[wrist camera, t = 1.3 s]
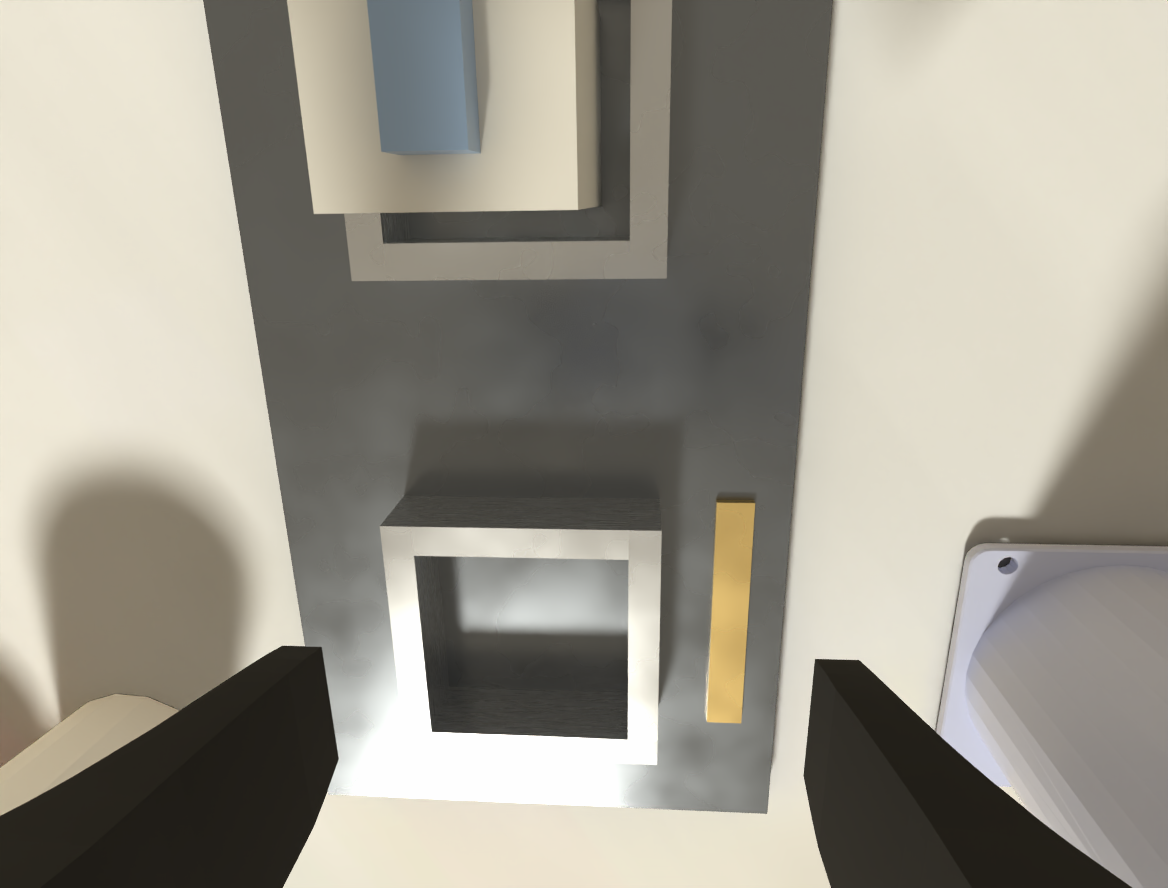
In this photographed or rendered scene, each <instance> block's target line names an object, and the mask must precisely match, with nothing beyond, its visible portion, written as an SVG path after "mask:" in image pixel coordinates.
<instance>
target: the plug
mask: <svg viewBox="0 0 1168 888" xmlns="http://www.w3.org/2000/svg"><path fill="white" fill-rule="evenodd" d="M287 5H288V13H289V20H290V28H291V36H292V44H293V52H294V60H295V68H296V76H297V84H298V92H299V100H300V108H301V116H302V124H303V132H304V139H305V147H306V155H307V163H308V171H309V179H310V187H311V195H312V203H313V211H314V214H343V213H407V212H472V211H537V210H580V209H586V208H592V207H598V206H601V80H600V13H599V8H598V3H597V0H287Z"/></svg>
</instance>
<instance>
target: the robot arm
mask: <svg viewBox="0 0 1168 888" xmlns="http://www.w3.org/2000/svg"><path fill="white" fill-rule="evenodd" d="M1007 557H1011V561H1010V563H1009V564H1008V565H1006V566H1005V567H1001V568H999V567H998V564H999V562H1000V561H1001V560H1002V559H1004V558H1007ZM338 760H339V757H338V751H337V744H336V737H335V731H334V724H333V718H332V711H331V704H330V698H329V691H328V685H327V678H326V672H325V665H324V658H323V652H322V647H306V646H281V647H279V648H278V649H276V650H274V651H272V652H270V653H269V654H267V655H265V656H264V657H262V658H260V659H259V660H257V661H256V662H254V663H252V664H251V665H249V666H248V667H246V668H245V669H243V670H241V671H240V672H238V673H237V674H235V675H234V676H232V677H231V678H229V679H228V680H226V681H225V682H223V683H222V684H220V685H218V686H217V687H215V688H214V689H212V690H211V691H209V692H208V693H206V694H205V695H203V696H202V697H200V698H199V699H197V700H196V701H194V702H192V703H191V704H189V705H188V706H186V707H185V708H183V709H182V710H180V711H179V712H177V713H175V714H174V715H172V716H171V717H169V718H168V719H166V720H165V721H163V722H162V723H160V724H159V725H157V726H155V727H154V728H152V729H151V730H149V731H147V732H146V733H144V734H142V735H141V736H139V737H138V738H136V739H134V740H133V741H131V742H129V743H128V744H126V745H124V746H123V747H121V748H119V749H118V750H116V751H114V752H113V753H111V754H109V755H108V756H106V757H104V758H103V759H101V760H99V761H98V762H96V763H94V764H93V765H91V766H89V767H88V768H86V769H85V770H83V771H81V772H80V773H78V774H76V775H75V776H73V777H71V778H69V779H68V780H66V781H64V782H62V783H60V784H59V785H57V786H55V787H53V788H52V789H50V790H48V791H46V792H44V793H42V794H41V795H39V796H37V797H35V798H33V799H31V800H30V801H28V802H26V803H24V804H22V805H20V806H18V807H16V808H14V809H12V810H10V811H8V812H7V813H5V814H3V815H1V816H0V888H283V886H284V884H285V882H286V880H287V878H288V876H289V874H290V872H291V870H292V868H293V866H294V865H295V863H296V861H297V859H298V857H299V855H300V853H301V851H302V849H303V847H304V845H305V843H306V841H307V839H308V837H309V835H310V833H311V831H312V829H313V827H314V825H315V822H316V820H317V817H318V814H319V812H320V809H321V807H322V804H323V802H324V799H325V796H326V794H327V791H328V788H329V785H330V782H331V780H332V777H333V774H334V771H335V768H336V766H337V763H338ZM804 780H805V785H806V790H807V795H808V800H809V805H810V811H811V816H812V820H813V825H814V830H815V834H816V839H817V844H818V848H819V851H820V854H821V858H822V861H823V864H824V867H825V870H826V873H827V876H828V879H829V883H830V886H831V888H1168V546H1119V545H1061V544H1003V543H984V544H978V545H976V546H975V547H973V548H971V549H970V550H969V552H968V553H967V555H966V557H965V560H964V566H963V572H962V578H961V584H960V590H959V596H958V603H957V609H956V615H955V621H954V627H953V633H952V639H951V645H950V651H949V657H948V663H947V669H946V675H945V681H944V687H943V693H942V699H941V705H940V711H939V717H938V723H937V730H936V732H935V731H934V730H933V729H932V728H931V727H930V726H929V725H928V724H926V723H925V722H924V721H923V720H922V719H921V718H920V717H919V716H918V715H917V714H916V713H915V712H914V711H913V710H912V709H910V708H909V707H908V706H907V705H906V704H905V703H904V702H903V701H902V700H901V699H900V698H899V697H898V696H897V695H896V694H895V693H894V692H893V691H892V690H890V689H889V688H888V687H887V686H886V685H885V684H884V683H883V682H882V681H881V680H880V679H879V678H878V677H877V676H876V675H875V674H874V673H873V672H872V671H870V670H869V669H868V668H867V667H866V666H865V665H864V664H863V663H862V662H861V661H859V660H829V659H815V665H814V675H813V686H812V696H811V706H810V716H809V726H808V737H807V747H806V757H805V767H804ZM998 786H1004V787H1012V788H1013V789H1014V791H1015V793H1016V794H1017V796H1018V797H1019V799H1020V800H1021V802H1022V804H1023V805H1024V807H1025V808H1026V809H1025V808H1024V807H1023V806H1022V805H1020V804H1019V803H1018V802H1017V801H1015V800H1014V799H1013V798H1012V797H1010V796H1009V795H1008V794H1007V793H1005V792H1004V791H1003V790H1002V789H1000V788H999V787H998Z"/></svg>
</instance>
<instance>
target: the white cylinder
mask: <svg viewBox="0 0 1168 888" xmlns="http://www.w3.org/2000/svg"><path fill="white" fill-rule="evenodd" d="M177 712H179V710H177V709H175V708H172V707H170V706H168V705H165V704H163V703H161V702H158V701H156V700H153V699H151V698H149V697H144V696H133V695H122V694H113V695H110V696H106V697H103V698H99V699H96V700H93V701H89V702H87V703H86V704H85V705H83V706H82V707H81V708H79V709H78V710H77V711H75V712H74V713H73V714H71V715H70V716H69V717H67V718H66V719H65V720H63V721H62V722H61V723H59V724H58V725H57V726H55V727H54V728H53V729H51V730H50V731H49V732H47V733H46V734H45V735H43V736H42V737H41V738H39V739H38V740H37V741H35V742H34V743H33V744H31V745H30V746H29V747H27V748H26V749H25V750H23V751H22V752H21V753H19V754H18V755H17V756H15V757H14V758H13V759H11V760H10V761H9V762H7V763H6V764H5V765H3V766H2V767H1V768H0V816H1V815H3V814H5V813H7V812H8V811H10V810H12V809H14V808H16V807H18V806H20V805H22V804H24V803H26V802H28V801H30V800H31V799H33V798H35V797H37V796H39V795H41V794H42V793H44V792H46V791H48V790H50V789H52V788H53V787H55V786H57V785H59V784H60V783H62V782H64V781H66V780H68V779H69V778H71V777H73V776H75V775H76V774H78V773H80V772H81V771H83V770H85V769H86V768H88V767H89V766H91V765H93V764H94V763H96V762H98V761H99V760H101V759H103V758H104V757H106V756H108V755H109V754H111V753H113V752H114V751H116V750H118V749H119V748H121V747H123V746H124V745H126V744H128V743H129V742H131V741H133V740H134V739H136V738H138V737H139V736H141V735H142V734H144V733H146V732H147V731H149V730H151V729H152V728H154V727H155V726H157V725H159V724H160V723H162V722H163V721H165V720H166V719H168V718H169V717H171V716H172V715H174V714H175V713H177Z"/></svg>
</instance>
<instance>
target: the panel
mask: <svg viewBox="0 0 1168 888" xmlns="http://www.w3.org/2000/svg"><path fill="white" fill-rule="evenodd" d="M203 2H204V8H205V14H206V21H207V27H208V33H209V40H210V46H211V52H212V59H213V65H214V71H215V78H216V84H217V90H218V97H219V103H220V109H221V116H222V122H223V129H224V135H225V141H226V148H227V154H228V160H229V167H230V173H231V179H232V186H233V192H234V198H235V205H236V211H237V217H238V224H239V230H240V236H241V243H242V249H243V255H244V262H245V268H246V274H247V281H248V287H249V293H250V300H251V306H252V312H253V319H254V325H255V331H256V338H257V344H258V350H259V357H260V363H261V369H262V376H263V382H264V388H265V395H266V401H267V408H268V414H269V420H270V427H271V433H272V439H273V446H274V452H275V458H276V465H277V471H278V477H279V484H280V490H281V496H282V503H283V509H284V515H285V522H286V528H287V534H288V541H289V547H290V553H291V560H292V566H293V572H294V579H295V585H296V591H297V598H298V604H299V610H300V617H301V623H302V629H303V636H304V642H305V646H306V647H322V652H323V658H324V665H325V672H326V678H327V685H328V691H329V698H330V704H331V711H332V718H333V724H334V731H335V737H336V744H337V751H338V757H339V760H338V763H337V766H336V768H335V771H334V774H333V777H332V780H331V782H330V785H329V788H328V794H333V795H355V796H378V797H401V798H423V799H446V800H469V801H491V802H514V803H537V804H559V805H582V806H605V807H627V808H650V809H672V810H695V811H718V812H740V813H763V814H767V810H768V797H769V785H770V772H771V760H772V748H773V735H774V723H775V710H776V698H777V685H778V673H779V660H780V648H781V636H782V623H783V611H784V598H785V586H786V573H787V561H788V549H789V536H790V524H791V511H792V499H793V486H794V474H795V462H796V449H797V437H798V424H799V412H800V399H801V387H802V375H803V362H804V350H805V337H806V325H807V312H808V300H809V288H810V275H811V263H812V250H813V238H814V225H815V213H816V200H817V188H818V176H819V163H820V151H821V138H822V126H823V113H824V101H825V89H826V76H827V64H828V51H829V39H830V26H831V14H832V2H833V0H597V3H598V8H599V13H600V80H601V206H598V207H592V208H586V209H580V210H537V211H472V212H407V213H343V214H314V211H313V203H312V195H311V187H310V179H309V171H308V163H307V155H306V147H305V139H304V132H303V124H302V116H301V108H300V100H299V92H298V84H297V76H296V68H295V60H294V52H293V44H292V36H291V28H290V20H289V13H288V5H287V0H203Z"/></svg>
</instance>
